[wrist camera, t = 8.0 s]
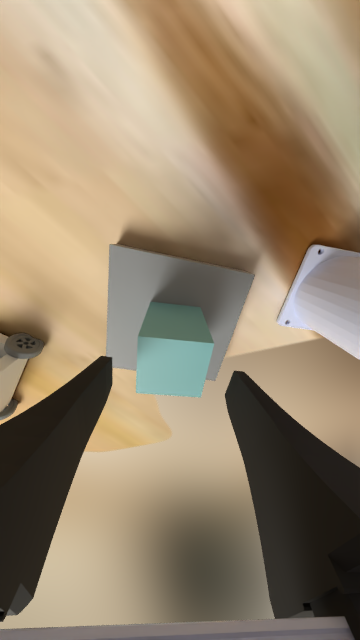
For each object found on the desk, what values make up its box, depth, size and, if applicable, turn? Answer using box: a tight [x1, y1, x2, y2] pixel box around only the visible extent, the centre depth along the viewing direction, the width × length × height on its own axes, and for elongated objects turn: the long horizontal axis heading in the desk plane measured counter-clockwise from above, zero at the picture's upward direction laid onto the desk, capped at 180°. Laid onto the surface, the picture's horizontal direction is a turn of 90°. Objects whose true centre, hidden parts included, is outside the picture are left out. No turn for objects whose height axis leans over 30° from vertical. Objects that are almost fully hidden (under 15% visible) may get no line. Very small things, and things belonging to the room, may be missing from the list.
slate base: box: [106, 244, 255, 381], centre depth 18 cm, size 12×12×2 cm
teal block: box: [136, 302, 214, 397], centre depth 14 cm, size 4×4×6 cm
